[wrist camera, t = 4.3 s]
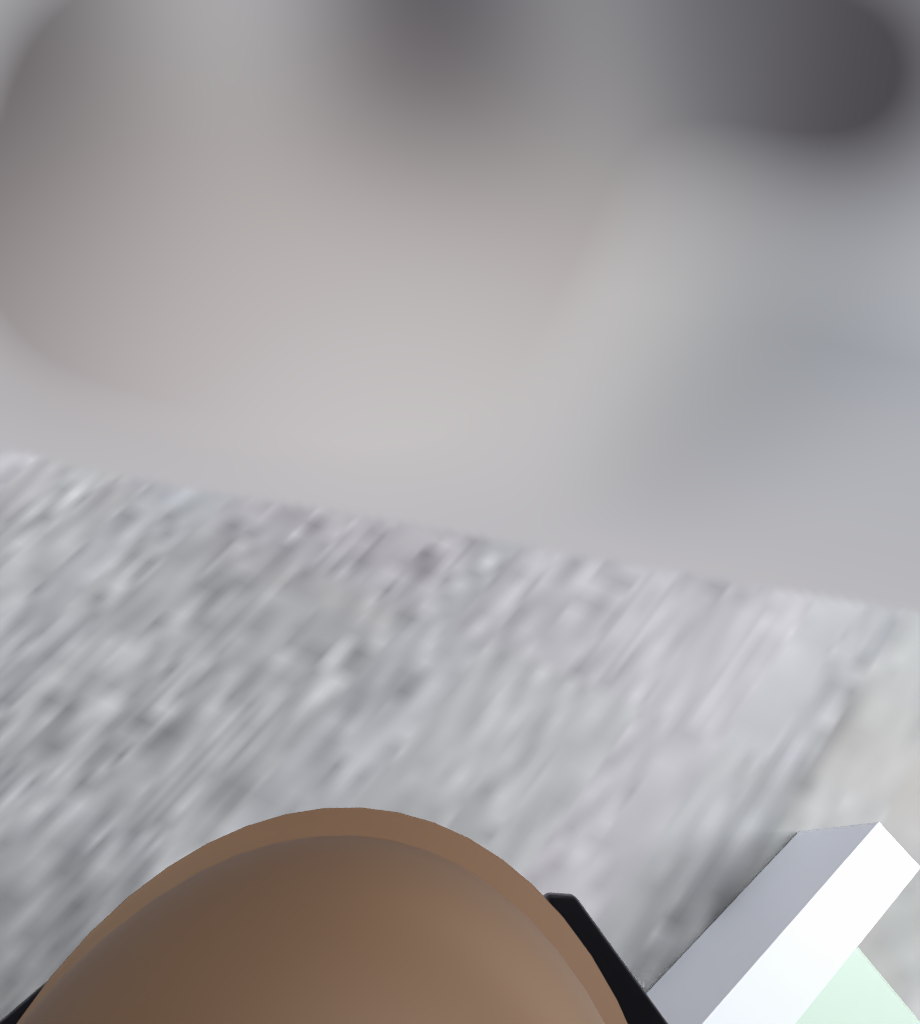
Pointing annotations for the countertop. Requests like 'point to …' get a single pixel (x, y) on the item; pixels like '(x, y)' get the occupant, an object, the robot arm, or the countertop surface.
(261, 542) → the countertop surface
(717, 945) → the rail
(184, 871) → the pepper mill
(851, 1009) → the coaster
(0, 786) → the countertop surface
